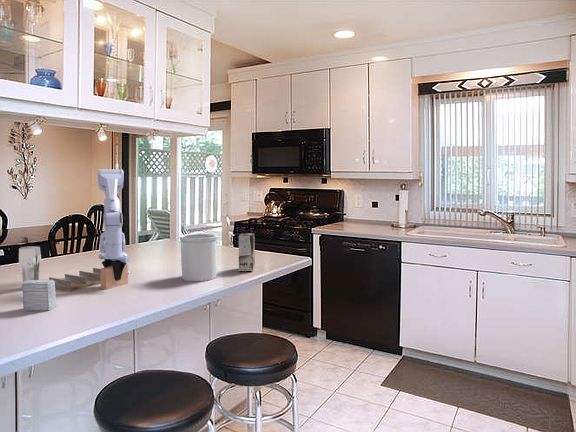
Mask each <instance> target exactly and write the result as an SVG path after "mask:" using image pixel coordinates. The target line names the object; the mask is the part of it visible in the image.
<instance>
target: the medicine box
mask: <svg viewBox="0 0 576 432" xmlns="http://www.w3.org/2000/svg"><path fill="white" fill-rule="evenodd" d="M22 283H23V282H22ZM22 283H21V289H22V290H21V291H22V307H23V312H28V311H30V312H31V311H33V312H34V311H38V312H39V311H42V312H43V311H48V312H49V311H51V310H53V309H54V308H55V307H57V301H56V300H57V298H56V297H57V295H56V288H55V281H54V280H49V279H46V280H45V279H44V280H43V279H39V280H30V281H27V282H25V283H23V284H22Z"/></svg>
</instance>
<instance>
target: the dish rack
mask: <svg viewBox="0 0 576 432" xmlns="http://www.w3.org/2000/svg"><path fill="white" fill-rule="evenodd" d="M78 273H79V275H76V274H75V275H74V274H68V273H65V274H64V279H63V278H58V277H57V278H56V277H51V276H50V277H49V278H48V280H54V281H55V290H56V289H57V290H61V291H67V292H72V291H76V290H81V289H84V288H89V287H93V286H97V285H101V268H96V267H92V271H91V272H89V271H83V270H79V271H78Z"/></svg>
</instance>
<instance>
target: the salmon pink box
mask: <svg viewBox="0 0 576 432" xmlns="http://www.w3.org/2000/svg"><path fill="white" fill-rule="evenodd" d="M128 265H129V263H128V264H126V265H125V267H124V269H123V272H122V276H121V280H117V281H115V278H114V270H113V267H112V266H109V267H105V268H104V267H101V268H100V269H101V284H100V289H103V290H110V289H113V288H116V287H120V286H124V285H127V284H129V275H128V274H129V273H128Z"/></svg>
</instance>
